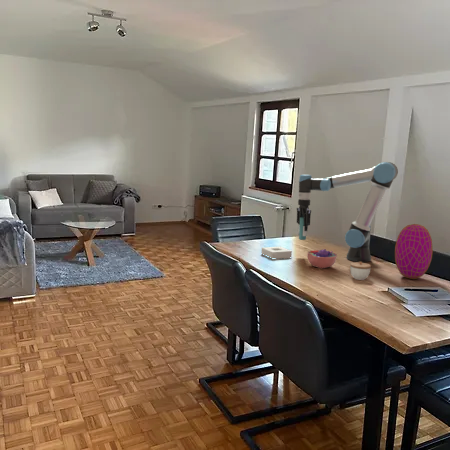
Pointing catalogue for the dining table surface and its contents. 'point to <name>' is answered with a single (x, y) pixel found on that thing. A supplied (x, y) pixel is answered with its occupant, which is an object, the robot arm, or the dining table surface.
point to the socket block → (276, 252)
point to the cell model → (321, 258)
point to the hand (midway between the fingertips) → (302, 235)
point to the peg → (301, 229)
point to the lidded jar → (360, 270)
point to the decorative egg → (413, 251)
